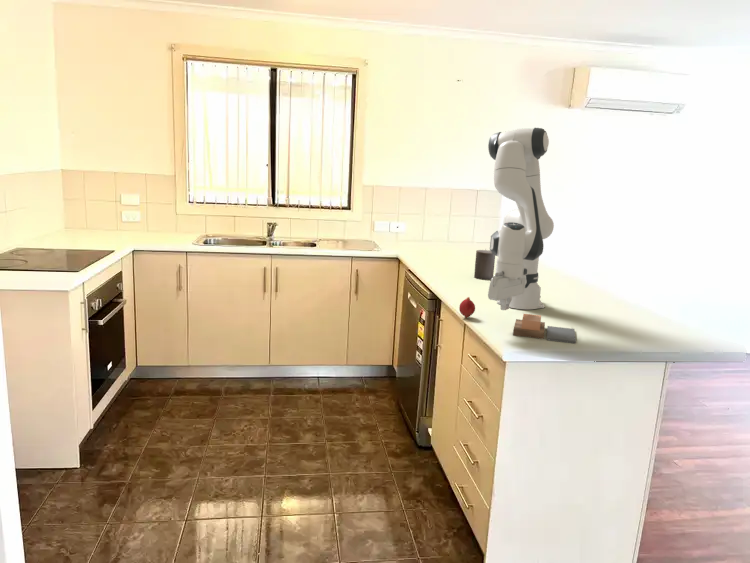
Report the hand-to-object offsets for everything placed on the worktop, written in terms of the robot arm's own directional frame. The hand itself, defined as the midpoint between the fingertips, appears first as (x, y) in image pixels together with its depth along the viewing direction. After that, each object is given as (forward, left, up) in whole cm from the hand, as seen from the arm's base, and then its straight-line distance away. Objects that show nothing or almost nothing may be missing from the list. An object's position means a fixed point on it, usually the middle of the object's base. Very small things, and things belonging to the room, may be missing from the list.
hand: (504, 309), depth 195 cm
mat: (0, +19, -7) cm, 21 cm away
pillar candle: (-91, -17, -7) cm, 92 cm away
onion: (-10, -14, -7) cm, 19 cm away
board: (-1, +9, -7) cm, 11 cm away
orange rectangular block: (-1, +9, -5) cm, 11 cm away
